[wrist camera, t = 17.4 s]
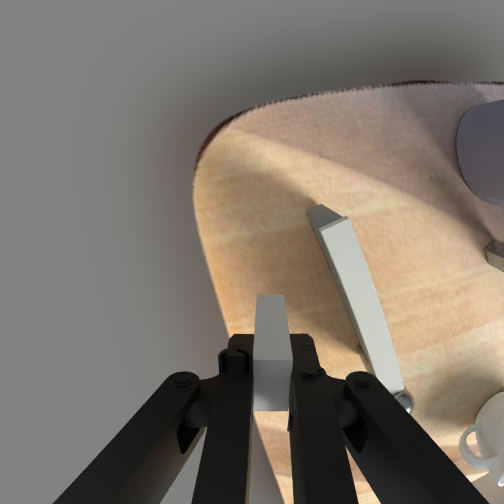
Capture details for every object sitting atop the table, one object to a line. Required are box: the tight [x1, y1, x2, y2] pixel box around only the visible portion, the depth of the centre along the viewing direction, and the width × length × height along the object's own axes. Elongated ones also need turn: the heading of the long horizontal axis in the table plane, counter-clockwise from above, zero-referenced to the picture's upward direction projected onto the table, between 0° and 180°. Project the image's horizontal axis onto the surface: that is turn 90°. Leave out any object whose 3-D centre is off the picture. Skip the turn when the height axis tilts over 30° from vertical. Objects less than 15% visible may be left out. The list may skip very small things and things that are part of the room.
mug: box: [459, 392, 504, 486], centre depth 25 cm, size 15×11×13 cm
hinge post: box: [358, 343, 414, 414], centre depth 24 cm, size 3×3×11 cm
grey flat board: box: [305, 204, 405, 394], centre depth 23 cm, size 14×2×9 cm, turn 26°
